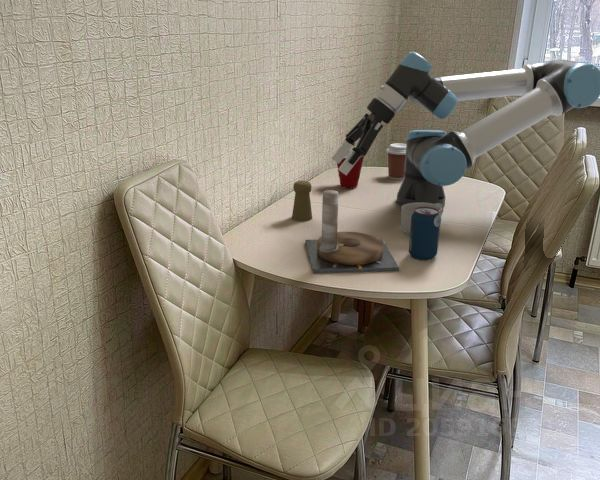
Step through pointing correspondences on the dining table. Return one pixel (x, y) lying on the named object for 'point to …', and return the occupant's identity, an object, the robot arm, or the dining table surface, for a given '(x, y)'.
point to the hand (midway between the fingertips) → (338, 166)
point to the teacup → (409, 210)
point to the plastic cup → (350, 173)
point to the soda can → (424, 233)
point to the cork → (302, 201)
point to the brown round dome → (344, 238)
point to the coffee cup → (396, 161)
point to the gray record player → (324, 266)
